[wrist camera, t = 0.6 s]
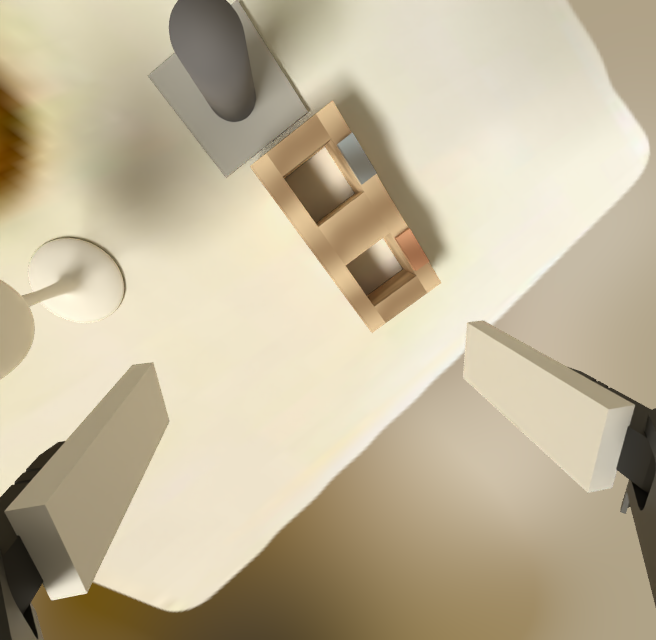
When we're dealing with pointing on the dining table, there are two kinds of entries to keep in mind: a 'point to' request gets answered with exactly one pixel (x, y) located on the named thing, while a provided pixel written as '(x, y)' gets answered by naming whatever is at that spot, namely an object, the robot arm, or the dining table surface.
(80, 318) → the wineglass
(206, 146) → the pad
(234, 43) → the plug
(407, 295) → the socket block
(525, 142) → the dining table surface
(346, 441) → the dining table surface
